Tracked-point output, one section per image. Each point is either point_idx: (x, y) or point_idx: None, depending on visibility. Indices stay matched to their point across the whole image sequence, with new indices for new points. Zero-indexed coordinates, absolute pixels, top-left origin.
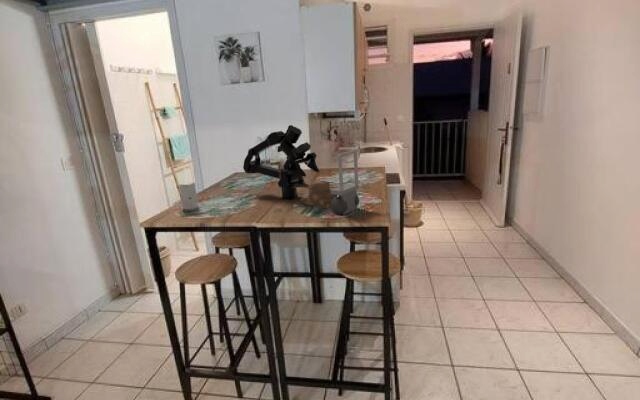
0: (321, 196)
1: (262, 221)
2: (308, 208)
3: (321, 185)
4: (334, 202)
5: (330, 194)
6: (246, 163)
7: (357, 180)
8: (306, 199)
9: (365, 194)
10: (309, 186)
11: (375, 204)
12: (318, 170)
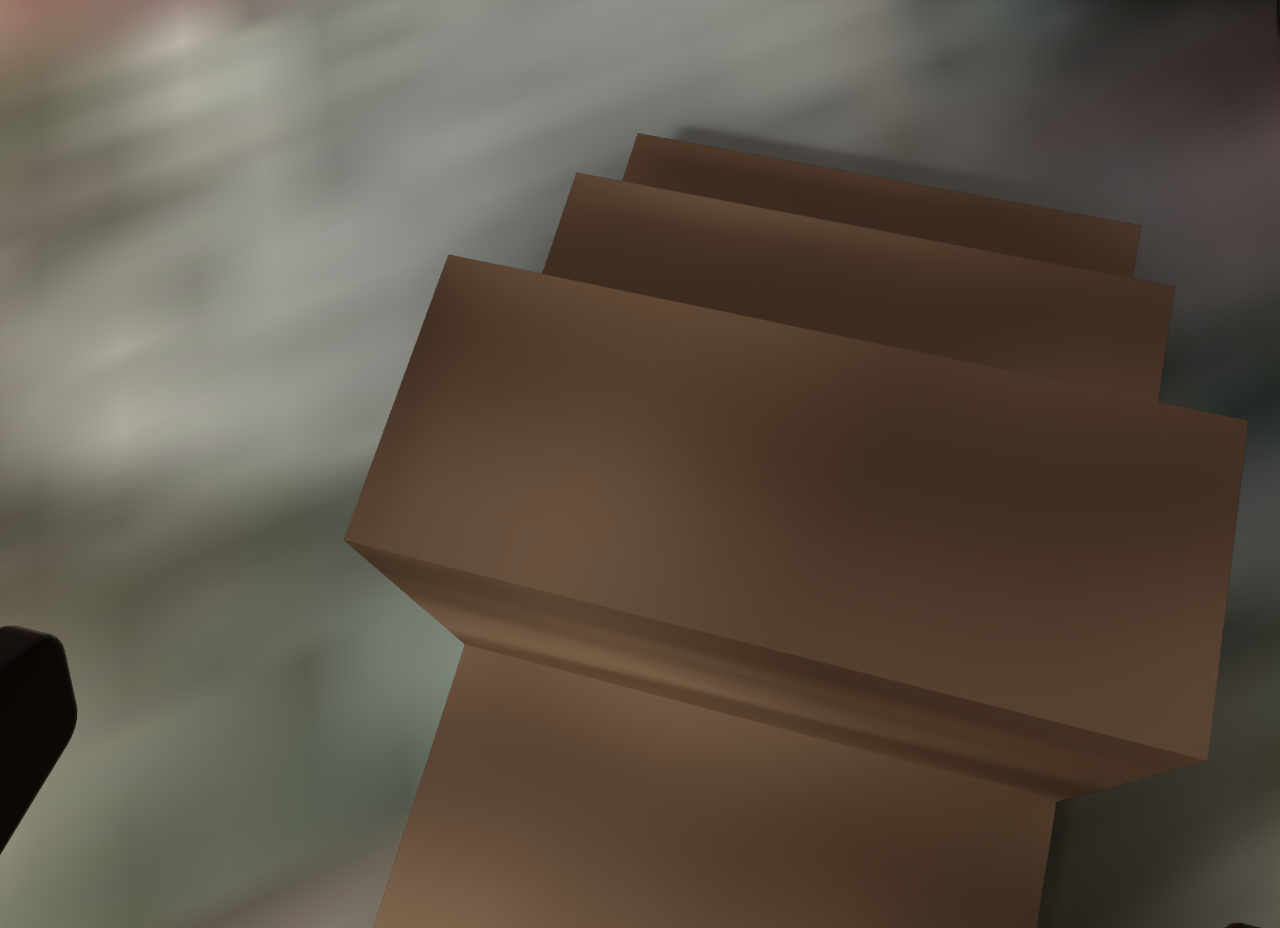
0: (1166, 330)
1: None
2: (1275, 718)
3: (882, 357)
4: None
5: (844, 233)
6: None
7: None
8: (1034, 920)
9: (39, 8)
10: (1205, 703)
11: None
12: (13, 639)
